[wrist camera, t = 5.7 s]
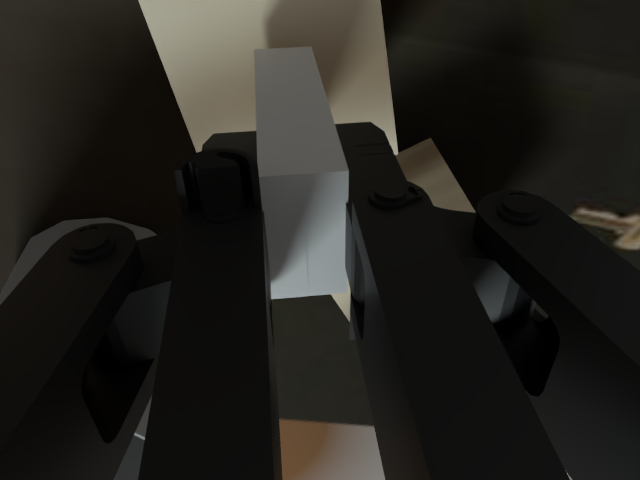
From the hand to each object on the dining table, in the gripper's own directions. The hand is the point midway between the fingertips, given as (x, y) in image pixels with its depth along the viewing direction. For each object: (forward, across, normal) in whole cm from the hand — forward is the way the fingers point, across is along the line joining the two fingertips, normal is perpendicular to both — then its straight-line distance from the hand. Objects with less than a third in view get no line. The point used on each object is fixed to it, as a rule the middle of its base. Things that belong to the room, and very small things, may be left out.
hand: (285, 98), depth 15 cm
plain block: (+7, 0, 0) cm, 7 cm away
